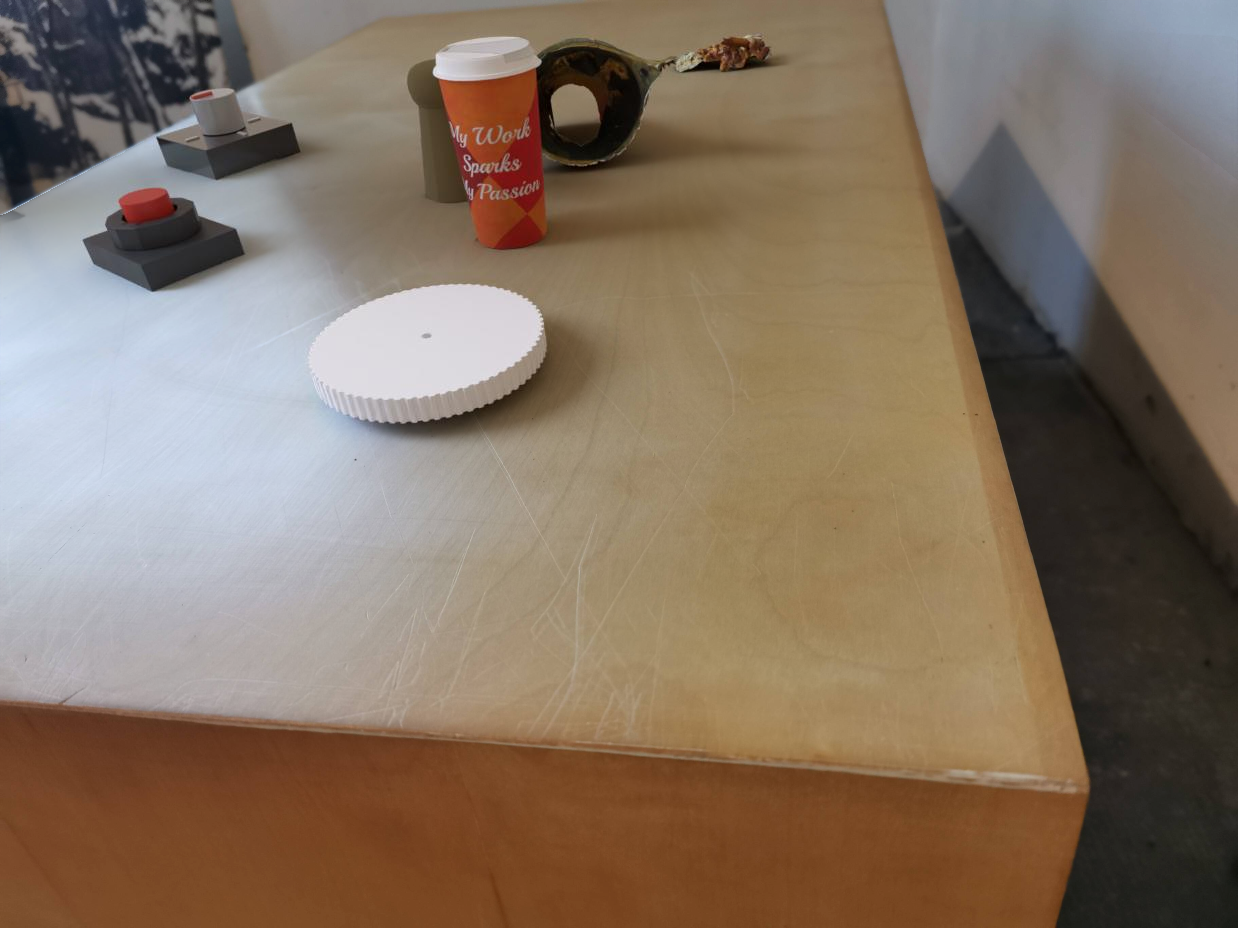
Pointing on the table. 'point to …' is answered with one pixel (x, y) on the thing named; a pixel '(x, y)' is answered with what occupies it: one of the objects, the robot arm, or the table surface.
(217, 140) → the panel
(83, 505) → the table surface
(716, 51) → the pastry
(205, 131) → the burner knob
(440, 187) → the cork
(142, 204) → the button
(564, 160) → the olive metal hollow piece
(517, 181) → the paper cup
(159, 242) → the box
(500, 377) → the plastic lid
